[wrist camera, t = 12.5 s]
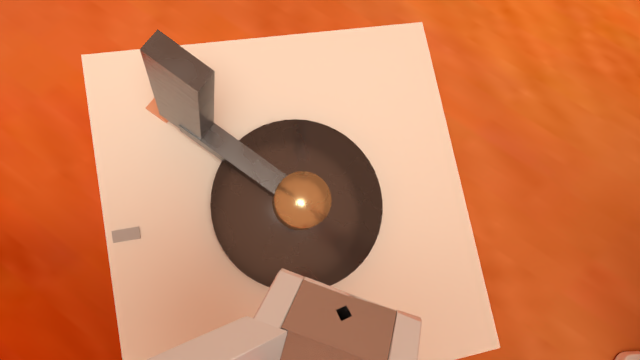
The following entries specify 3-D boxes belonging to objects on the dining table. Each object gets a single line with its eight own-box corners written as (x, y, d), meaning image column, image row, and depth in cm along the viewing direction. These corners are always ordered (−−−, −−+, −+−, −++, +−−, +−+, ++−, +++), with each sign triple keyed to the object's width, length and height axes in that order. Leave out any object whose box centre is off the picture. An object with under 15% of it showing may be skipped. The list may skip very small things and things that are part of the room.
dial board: (414, 31, 51) (423, 20, 49) (488, 345, 47) (502, 348, 45) (86, 64, 44) (80, 53, 42) (137, 435, 40) (133, 444, 38)
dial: (407, 187, 46) (483, 151, 33) (318, 326, 42) (364, 346, 29) (219, 49, 45) (222, -44, 32) (110, 179, 41) (64, 133, 28)
